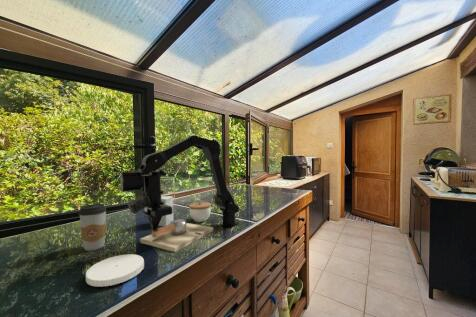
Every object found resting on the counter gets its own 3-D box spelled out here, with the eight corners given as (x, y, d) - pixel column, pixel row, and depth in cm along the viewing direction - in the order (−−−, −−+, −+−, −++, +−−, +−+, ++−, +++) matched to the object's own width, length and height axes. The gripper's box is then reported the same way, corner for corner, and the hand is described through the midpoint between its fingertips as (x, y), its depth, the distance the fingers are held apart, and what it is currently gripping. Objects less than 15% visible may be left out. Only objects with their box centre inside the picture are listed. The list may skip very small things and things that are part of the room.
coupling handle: (178, 228, 90) (178, 218, 90) (189, 230, 88) (189, 220, 87) (148, 241, 77) (148, 230, 77) (160, 244, 74) (159, 232, 74)
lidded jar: (193, 216, 114) (193, 199, 114) (213, 217, 112) (213, 199, 112) (186, 223, 103) (185, 203, 103) (207, 223, 102) (207, 203, 101)
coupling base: (181, 225, 100) (181, 221, 100) (214, 231, 91) (214, 227, 91) (140, 242, 81) (140, 238, 81) (176, 252, 72) (175, 247, 72)
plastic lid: (110, 296, 51) (110, 285, 51) (73, 283, 56) (73, 274, 56) (154, 267, 64) (154, 258, 64) (121, 259, 69) (120, 251, 69)
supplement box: (166, 226, 99) (165, 199, 99) (151, 225, 101) (150, 198, 100) (174, 221, 106) (173, 196, 106) (160, 220, 108) (159, 195, 108)
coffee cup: (78, 254, 73) (76, 210, 72) (82, 245, 80) (80, 205, 80) (106, 248, 77) (105, 206, 76) (108, 240, 84) (107, 202, 84)
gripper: (121, 188, 80) (122, 230, 81) (139, 194, 67) (141, 244, 67) (151, 185, 88) (152, 223, 88) (172, 190, 75) (174, 234, 75)
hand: (154, 230), depth 80 cm, fingers closed
